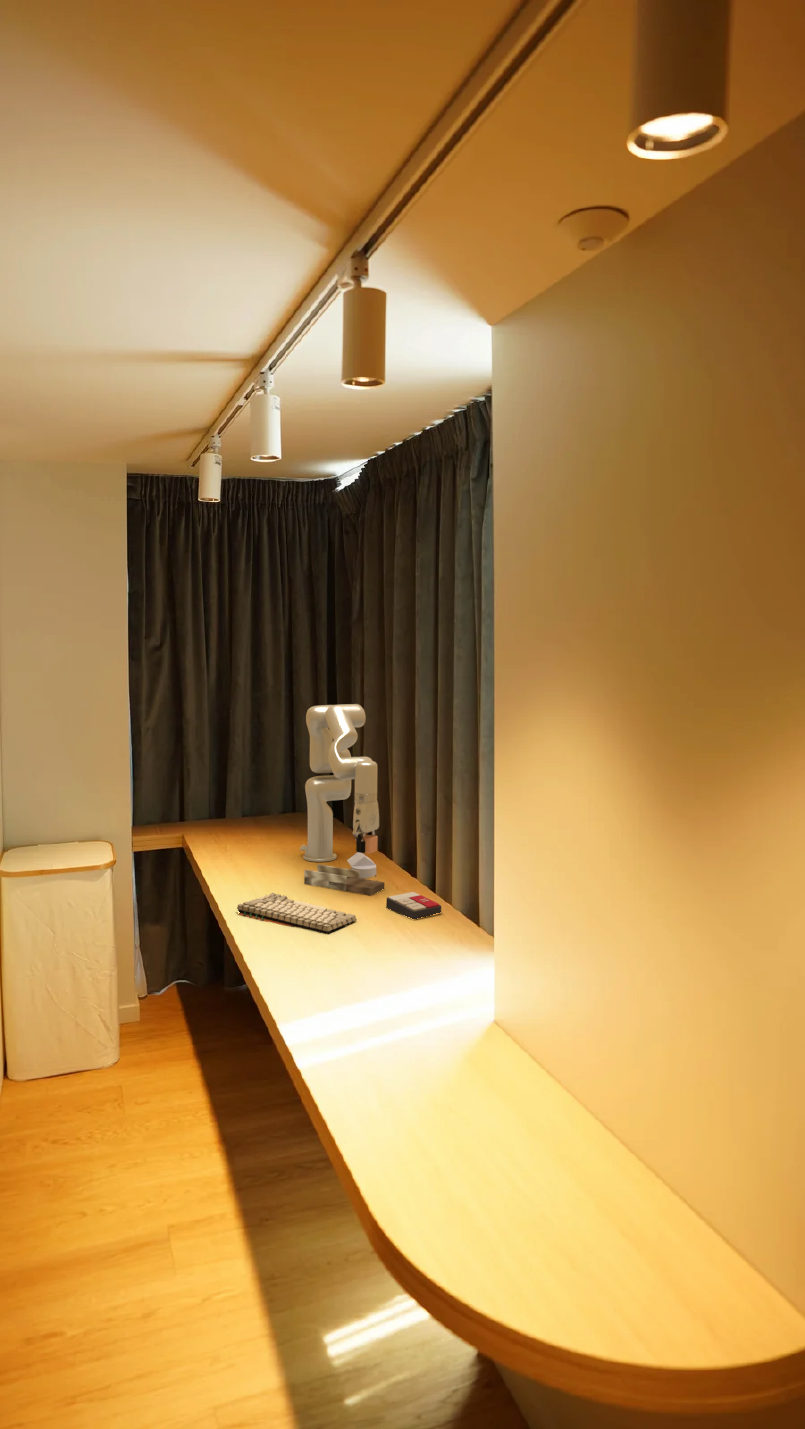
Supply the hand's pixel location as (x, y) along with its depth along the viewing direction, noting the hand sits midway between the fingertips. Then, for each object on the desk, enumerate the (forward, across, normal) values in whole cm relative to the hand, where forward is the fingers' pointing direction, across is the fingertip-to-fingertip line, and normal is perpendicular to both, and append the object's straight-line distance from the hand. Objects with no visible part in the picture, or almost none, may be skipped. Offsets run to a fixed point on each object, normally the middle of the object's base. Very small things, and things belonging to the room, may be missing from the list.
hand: (365, 849), depth 325 cm
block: (0, 0, -1) cm, 1 cm away
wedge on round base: (+15, +18, +11) cm, 25 cm away
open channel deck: (+14, 0, +8) cm, 16 cm away
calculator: (+14, -12, -25) cm, 31 cm away
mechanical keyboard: (+14, -35, +3) cm, 38 cm away
